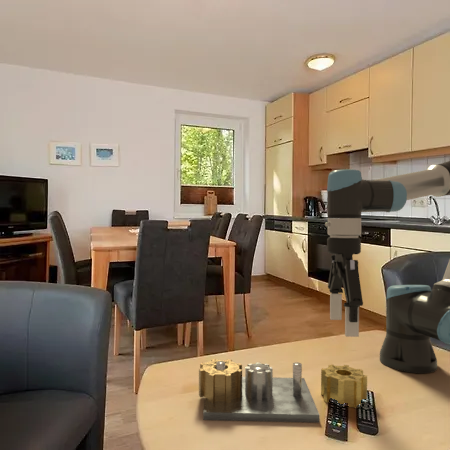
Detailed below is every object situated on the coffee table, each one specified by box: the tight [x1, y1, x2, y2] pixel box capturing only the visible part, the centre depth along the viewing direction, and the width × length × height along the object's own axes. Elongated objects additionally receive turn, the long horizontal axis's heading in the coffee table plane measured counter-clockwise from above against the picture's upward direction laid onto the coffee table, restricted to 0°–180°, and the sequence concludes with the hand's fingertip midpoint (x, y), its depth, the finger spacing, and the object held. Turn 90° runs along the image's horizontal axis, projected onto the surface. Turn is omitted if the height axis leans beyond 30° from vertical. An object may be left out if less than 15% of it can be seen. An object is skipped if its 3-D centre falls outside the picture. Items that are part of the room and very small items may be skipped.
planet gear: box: [320, 364, 368, 409], centre depth 88 cm, size 10×10×6 cm
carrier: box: [202, 361, 321, 424], centre depth 86 cm, size 24×18×9 cm
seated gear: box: [198, 358, 243, 403], centre depth 87 cm, size 10×10×6 cm
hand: (343, 327), depth 88 cm, fingers open, 13 cm apart
